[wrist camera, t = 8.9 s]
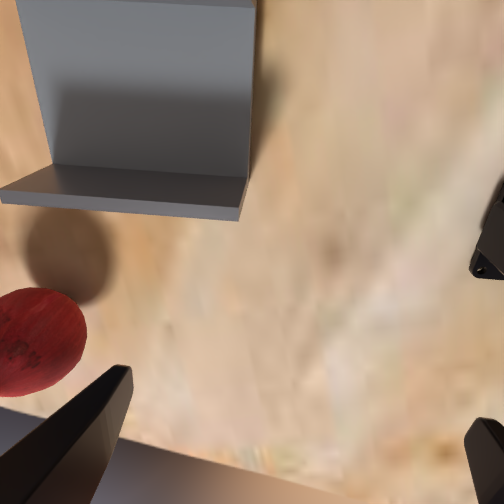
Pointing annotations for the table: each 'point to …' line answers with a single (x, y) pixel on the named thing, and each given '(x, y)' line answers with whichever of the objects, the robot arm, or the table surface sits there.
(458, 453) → the table surface
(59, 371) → the onion
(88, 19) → the rack
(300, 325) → the table surface
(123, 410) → the robot arm
